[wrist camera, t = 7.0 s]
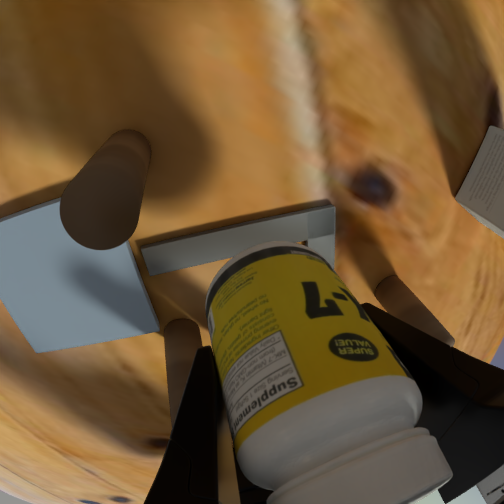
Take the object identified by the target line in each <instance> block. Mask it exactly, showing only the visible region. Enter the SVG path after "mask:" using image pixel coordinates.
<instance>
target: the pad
mask: <svg viewBox="0 0 504 504" xmlns="http://www.w3.org/2000/svg"><path fill="white" fill-rule="evenodd" d="M60 201H61V197H60V198H57V199H54V200H51V201H48V202H45V203H42V204H39V205H36V206H33V207H30V208H28V209H25V210H22V211H19V212H17V213H14V214H11V215H8V216H6V217H3V218H1V219H0V299H1V300H2V302H3V304H4V305H5V307H6V309H7V310H8V312H9V313H10V315H11V317H12V318H13V320H14V321H15V323H16V324H17V326H18V327H19V329H20V330H21V332H22V333H23V335H24V336H25V338H26V339H27V341H28V342H29V344H30V345H31V346H32V348H33V349H34V351H35V352H36V353H42V352H48V351H55V350H61V349H67V348H73V347H79V346H85V345H90V344H96V343H101V342H107V341H112V340H117V339H122V338H128V337H133V336H138V335H143V334H148V333H152V332H157V331H160V326H159V321H158V319H157V316H156V314H155V311H154V309H153V306H152V304H151V301H150V299H149V296H148V294H147V291H146V288H145V286H144V283H143V280H142V278H141V275H140V272H139V270H138V267H137V264H136V261H135V258H134V256H133V253H132V250H131V247H130V244H129V241H128V240H127V241H126V242H125V243H123V244H122V245H120V246H118V247H116V248H113V249H109V250H93V249H89V248H86V247H84V246H82V245H80V244H78V243H77V242H76V241H74V240H73V239H72V238H71V237H70V236H69V234H68V233H67V232H66V230H65V229H64V227H63V224H62V222H61V218H60V210H59V208H60Z"/></svg>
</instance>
